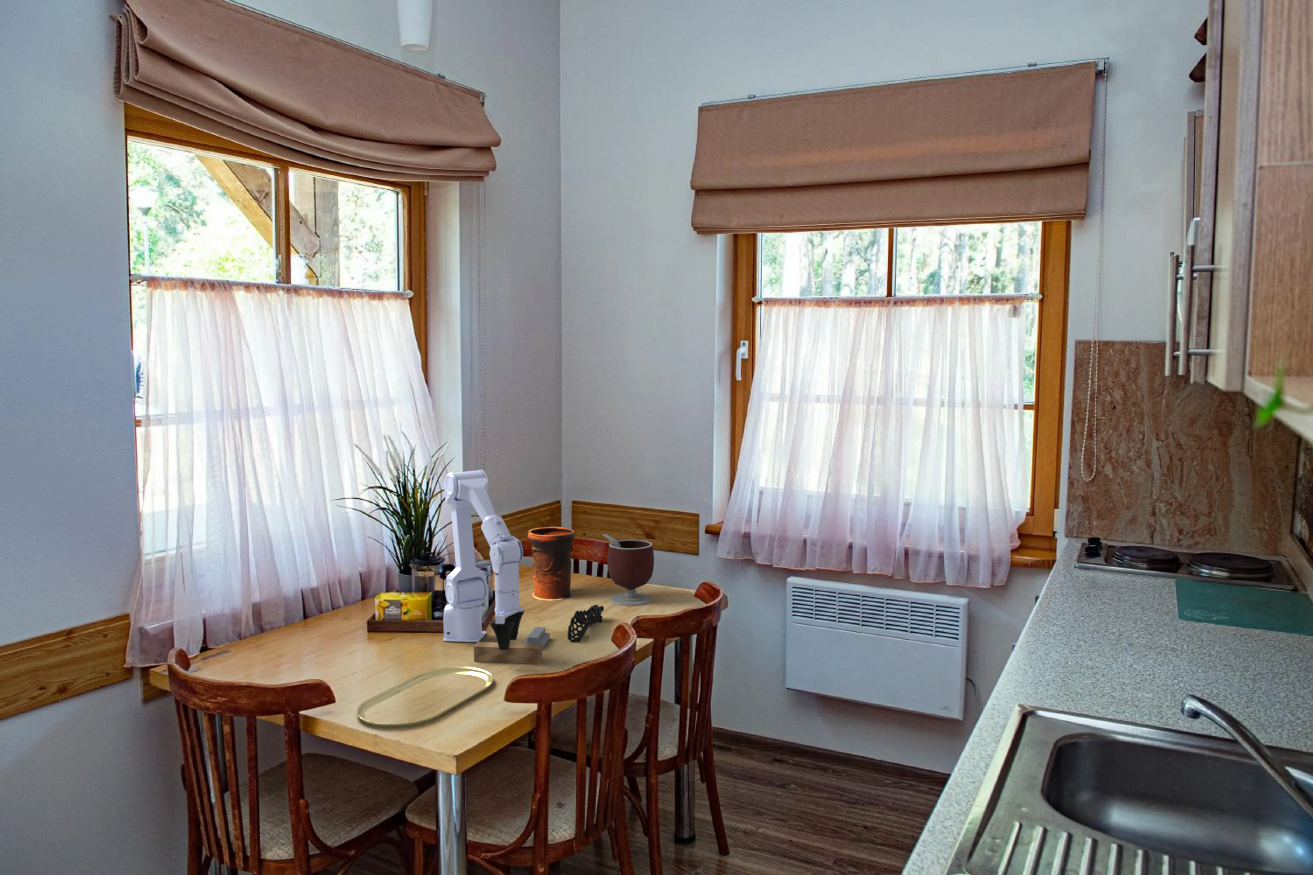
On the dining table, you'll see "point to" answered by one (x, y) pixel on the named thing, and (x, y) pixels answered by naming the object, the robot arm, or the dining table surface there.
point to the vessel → (551, 562)
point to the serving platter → (415, 680)
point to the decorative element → (584, 621)
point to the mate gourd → (630, 569)
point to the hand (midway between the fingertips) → (508, 644)
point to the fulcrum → (538, 637)
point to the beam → (508, 653)
